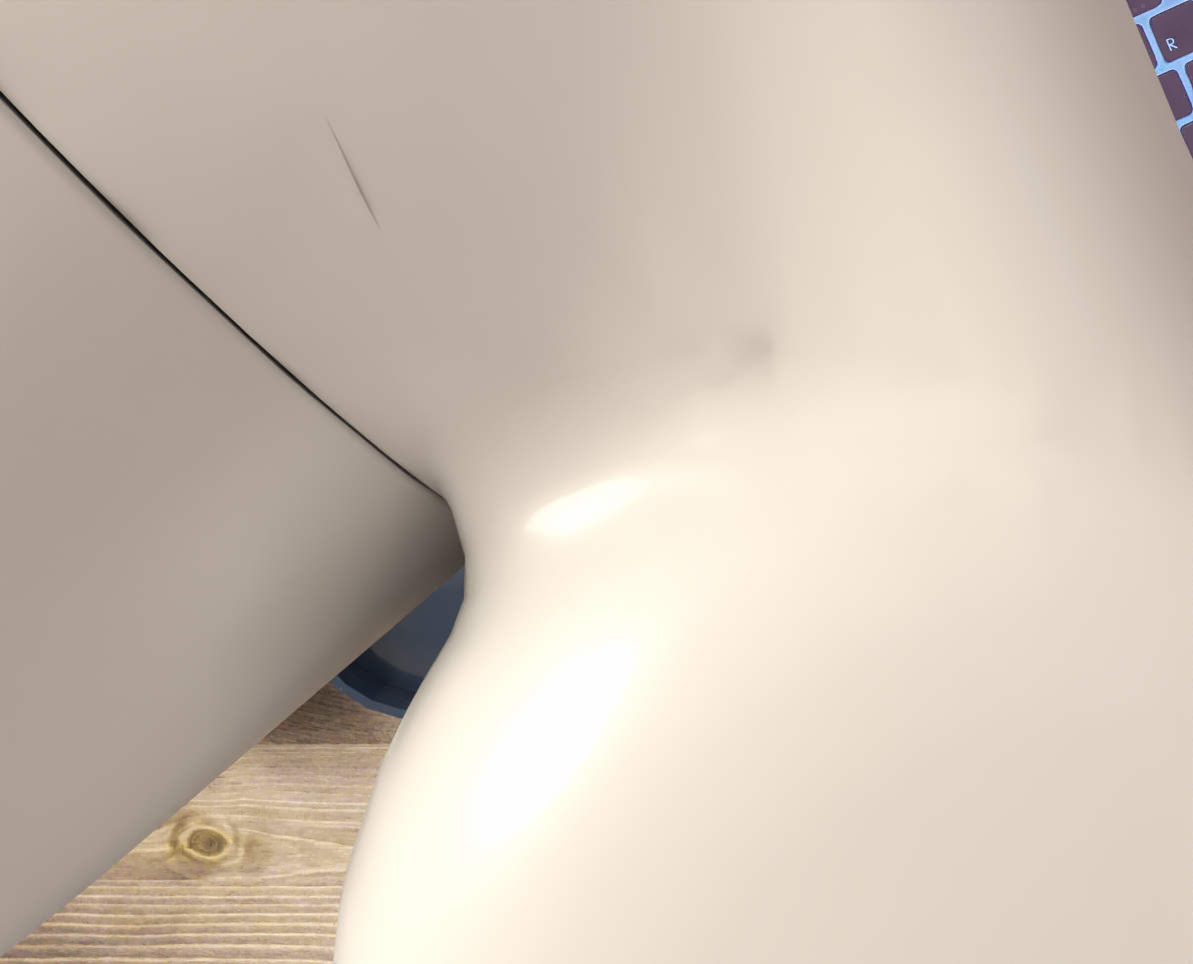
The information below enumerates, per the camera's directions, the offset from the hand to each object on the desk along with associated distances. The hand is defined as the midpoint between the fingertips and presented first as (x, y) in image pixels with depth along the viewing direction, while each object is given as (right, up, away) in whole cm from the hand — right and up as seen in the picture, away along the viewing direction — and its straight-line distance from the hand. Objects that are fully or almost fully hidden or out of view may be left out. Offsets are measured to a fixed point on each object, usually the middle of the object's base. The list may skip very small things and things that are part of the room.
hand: (650, 547), depth 34 cm
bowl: (-13, -4, +27) cm, 30 cm away
